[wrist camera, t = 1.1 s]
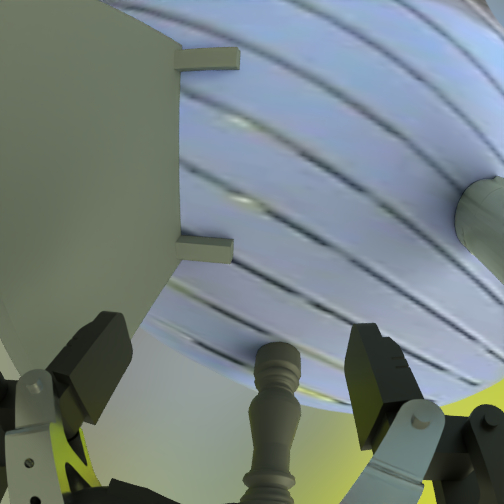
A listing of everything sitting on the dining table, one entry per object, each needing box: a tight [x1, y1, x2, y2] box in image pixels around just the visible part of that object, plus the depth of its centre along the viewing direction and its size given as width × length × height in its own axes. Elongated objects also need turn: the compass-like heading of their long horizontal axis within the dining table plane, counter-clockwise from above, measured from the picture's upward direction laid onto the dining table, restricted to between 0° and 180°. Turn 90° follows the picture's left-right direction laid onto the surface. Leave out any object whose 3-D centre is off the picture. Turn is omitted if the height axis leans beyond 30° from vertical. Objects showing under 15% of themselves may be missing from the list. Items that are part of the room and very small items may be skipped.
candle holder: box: [240, 342, 301, 504], centre depth 29 cm, size 6×6×25 cm
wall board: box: [0, 0, 240, 427], centre depth 19 cm, size 12×24×24 cm, turn 178°
